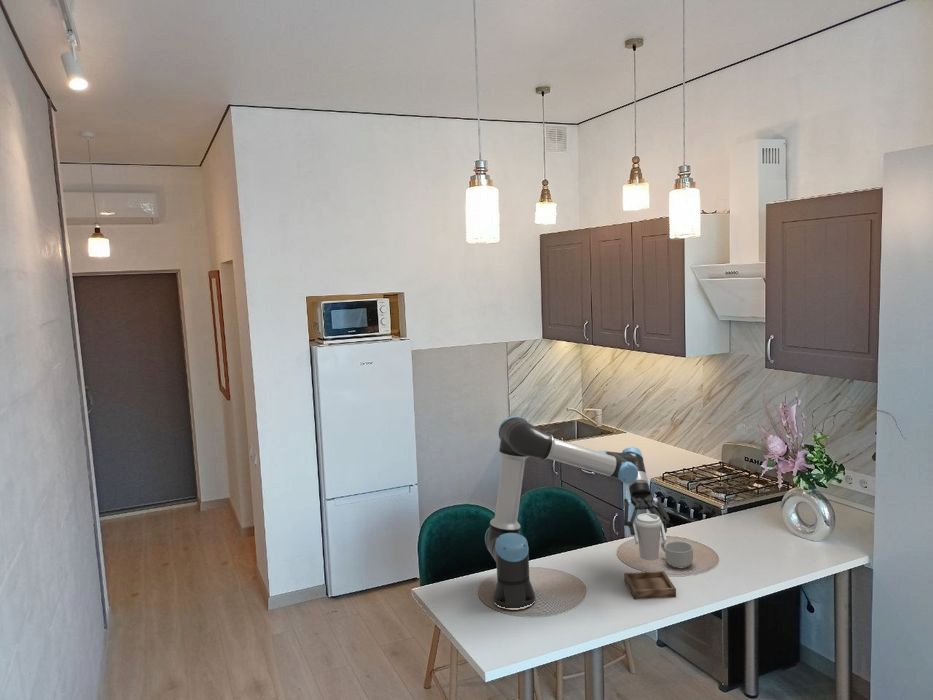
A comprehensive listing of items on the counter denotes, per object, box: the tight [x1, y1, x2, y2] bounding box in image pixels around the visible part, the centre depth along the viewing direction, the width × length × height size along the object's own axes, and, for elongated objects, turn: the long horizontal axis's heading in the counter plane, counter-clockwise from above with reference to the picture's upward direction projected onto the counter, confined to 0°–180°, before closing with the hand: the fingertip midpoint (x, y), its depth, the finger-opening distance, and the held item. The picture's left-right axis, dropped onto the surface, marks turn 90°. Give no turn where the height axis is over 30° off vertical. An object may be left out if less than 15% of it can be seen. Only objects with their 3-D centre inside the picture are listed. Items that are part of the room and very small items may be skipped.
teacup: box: [660, 540, 694, 568], centre depth 274 cm, size 14×11×8 cm
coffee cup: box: [634, 512, 662, 561], centre depth 253 cm, size 10×10×15 cm
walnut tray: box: [623, 570, 677, 600], centre depth 254 cm, size 15×15×3 cm
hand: (651, 542), depth 249 cm, fingers closed on coffee cup, 9 cm apart
